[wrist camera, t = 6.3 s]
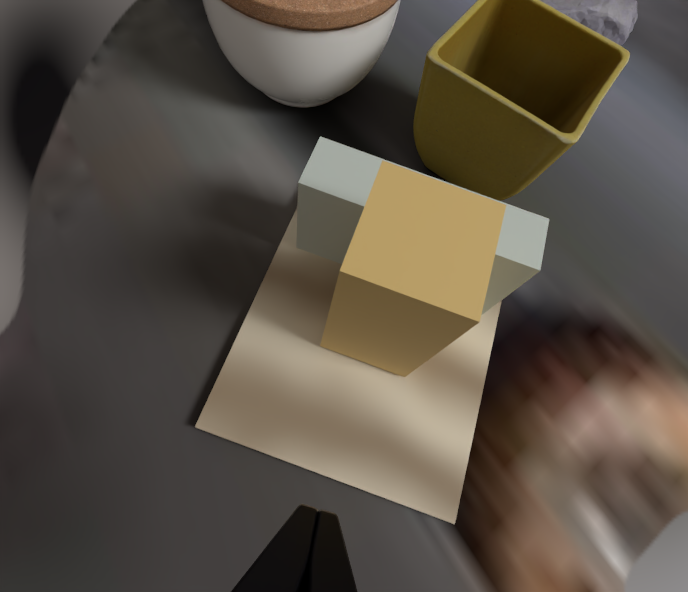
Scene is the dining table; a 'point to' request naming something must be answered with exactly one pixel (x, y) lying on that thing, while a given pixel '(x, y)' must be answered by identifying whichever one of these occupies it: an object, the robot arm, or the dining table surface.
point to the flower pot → (509, 94)
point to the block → (412, 271)
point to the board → (347, 394)
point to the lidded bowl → (302, 44)
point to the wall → (349, 201)
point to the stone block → (601, 16)
